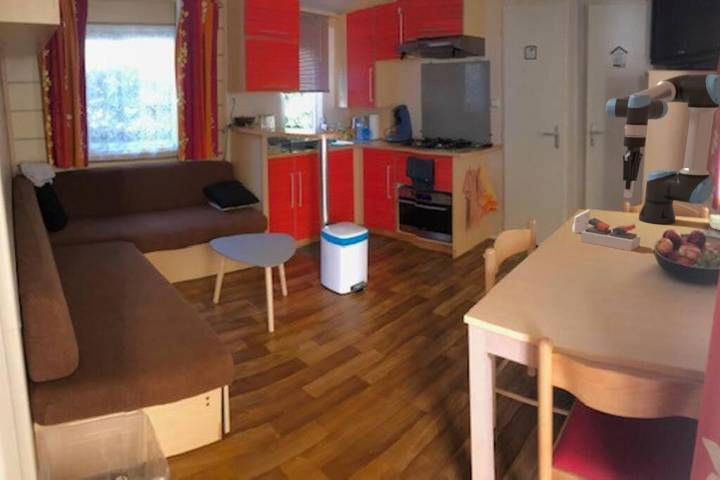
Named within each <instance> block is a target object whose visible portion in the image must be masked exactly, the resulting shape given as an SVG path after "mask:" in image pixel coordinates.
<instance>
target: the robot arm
mask: <svg viewBox="0 0 720 480" xmlns="http://www.w3.org/2000/svg"><path fill="white" fill-rule="evenodd" d="M668 103H684V104H685V103H687V109H688V110H689V111H690V115H689V123H688V131H687V139H686V146H685V151H684V152H685V154H684V159H683V160H684V162H683V167H682V168H681V169H679V170H678V171H677V170H675V169H662V170H661V169H660V170H659V169H658V170H653V171H650V172H648V174H647V179H646V187H645V188H646V189H645V196H644V203H643V206H642V208H641V210H640V211H639V212H638V213H639V214H638V220H639V221H640V222H645V223H649V224H657V225H658V224H659V225H670V224H674V223H675V222H676V214H675V213H676V212H675V208H674V201H676V202H681V203H688V204H691V205H693V204H694V205H700V204H701V205H702V204H704V203H706V202H707V201H708V199H710V196H711V195H712V193H713V190H714V185H715V184H714V180H713V179H712V178H711V177H710V172H709V170H708V169H707V164H708V157H709V151H710V143H711V138H712V136H711V135H712V129H713V128H712V127H713V123H714V121H713V120H714V116H715V115H714V114H715V112H716V111H718V109H719V108H720V74H712V73H711V74H710V73H709V74H682V75H676V76H673V77H669V78H667V79H664V80H662V81H659V82H658V83H657V84H655V86H652V87H649V88H646V89H644V90H641V91H638V92H636V93H633V94H631V95H627V96H625V97H620V98H618V97H615V98H614V97H613V98H610V99H608V101H607V103H606V105H605V113H606V115H607V116H608V117H609V118H616V119H617V118H618V119H620V118H622V119H626V122H625V126H624V135H625V136H623V138H624V139H623V146H624V147H627V148H626V151H625V155H624V154H623V156H622V162H623V164H622V165H623V166H622V181H623V182H624V181H625V182H624V189H623V198H627V199H632V198H633V194H634V185H635V182H637V181H638V175H639V170H640V166H641V162H642V158H643V156H644V155H643V153H641V148H644V147H646V140H647V137H646V136H647V134H648V133H647V132H648V123H649V121H650V120H660V119H663V118H664V117H666V116H667V114H668V110H669V105H668Z"/></svg>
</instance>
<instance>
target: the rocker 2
mask: <svg viewBox="0 0 720 480" xmlns="http://www.w3.org/2000/svg"><path fill="white" fill-rule="evenodd" d="M634 229H636V224H635V223H633V224H625V225H621V226H615V227H614V228H612V229H611V231H613V233H615V232H620V233H621V234H623V233H625V232H627V233H628V232H629V231H633V230H634Z"/></svg>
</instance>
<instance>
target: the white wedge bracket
mask: <svg viewBox="0 0 720 480" xmlns="http://www.w3.org/2000/svg"><path fill="white" fill-rule="evenodd" d="M590 214H591V209H590V208H587V210H585V211H583V212H581V213H579V214H577V215H575V216H574V218H573V223H572V230H571V231H572V232H573V233H576V234H577V233H579V234H581V232H583V231H585V230H586V229H588V228H590V227H589V226H590V224H589V223H588V222H589V220H590V217H591V215H590Z"/></svg>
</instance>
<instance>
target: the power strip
mask: <svg viewBox="0 0 720 480" xmlns="http://www.w3.org/2000/svg"><path fill="white" fill-rule="evenodd" d="M580 234H581V235H580V242H581V243H585V244H586V243H587V244H593V245H597V246H603V247H608V248H613V249H620V250H622V251H623V250H624V251H629V252H630V251H633V250H635V249H636V248H638V247H640V244H641V235H638V234H637V233H634V232H633V233H632V232H628V231H627V232H625V233H623V234H621V233H620V232H615V233H613V230H612V229H610V228H609V229H607V230H605V231H603V230H601V229H599V228H598V229H594V226H590V227H589V228H588V229H586V230H585V231H583V232H581V233H580Z"/></svg>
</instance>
